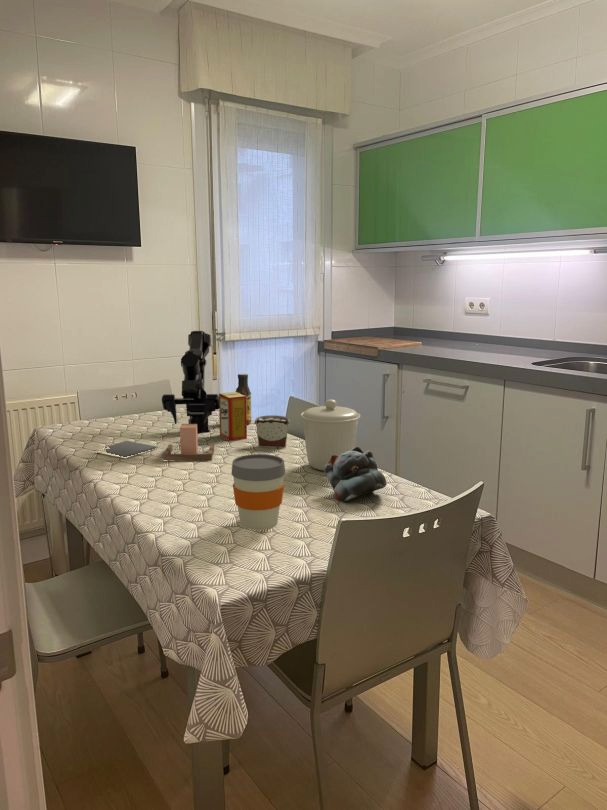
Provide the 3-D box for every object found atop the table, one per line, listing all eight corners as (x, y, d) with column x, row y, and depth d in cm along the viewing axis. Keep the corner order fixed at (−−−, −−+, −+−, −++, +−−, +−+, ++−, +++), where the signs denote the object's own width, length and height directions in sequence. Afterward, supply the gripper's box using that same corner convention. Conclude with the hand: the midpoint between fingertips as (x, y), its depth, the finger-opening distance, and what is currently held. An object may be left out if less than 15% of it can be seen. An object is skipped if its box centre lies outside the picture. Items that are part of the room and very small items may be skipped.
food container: (292, 443, 217) (292, 415, 215) (290, 447, 211) (290, 419, 209) (257, 442, 219) (257, 414, 217) (254, 446, 213) (254, 418, 211)
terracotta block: (182, 453, 204) (181, 424, 202) (198, 453, 204) (197, 423, 202) (180, 457, 199) (179, 427, 197) (196, 457, 199) (195, 427, 197)
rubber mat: (126, 443, 216) (126, 440, 216) (156, 449, 209) (156, 446, 208) (94, 452, 204) (94, 449, 204) (124, 459, 197) (124, 456, 197)
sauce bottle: (250, 425, 244) (250, 375, 240) (234, 425, 244) (233, 375, 240) (252, 421, 250) (251, 373, 246) (236, 421, 250) (236, 372, 246)
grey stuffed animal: (333, 505, 158) (318, 453, 161) (335, 507, 169) (321, 458, 172) (389, 489, 157) (373, 437, 160) (388, 492, 169) (373, 443, 172)
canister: (355, 477, 180) (357, 406, 176) (294, 473, 183) (295, 403, 179) (362, 460, 197) (363, 395, 193) (306, 456, 201) (307, 393, 197)
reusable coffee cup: (285, 512, 153) (285, 453, 150) (285, 532, 141) (285, 469, 138) (234, 512, 153) (233, 453, 150) (230, 532, 140) (228, 469, 137)
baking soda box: (246, 438, 223) (246, 395, 220) (230, 440, 220) (229, 396, 217) (236, 433, 231) (235, 391, 228) (219, 435, 228) (219, 392, 225)
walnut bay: (168, 450, 207) (168, 444, 207) (214, 449, 208) (214, 444, 208) (163, 461, 195) (162, 455, 195) (211, 460, 196) (211, 454, 196)
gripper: (161, 370, 204) (157, 409, 195) (218, 370, 205) (216, 409, 197) (165, 390, 213) (162, 428, 204) (220, 389, 214) (218, 427, 206)
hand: (189, 423), depth 203 cm, fingers open, 9 cm apart
